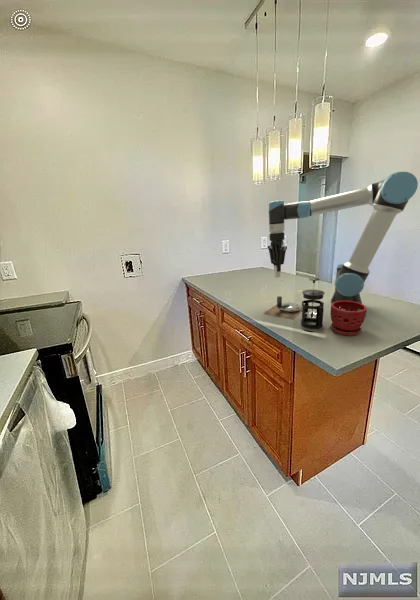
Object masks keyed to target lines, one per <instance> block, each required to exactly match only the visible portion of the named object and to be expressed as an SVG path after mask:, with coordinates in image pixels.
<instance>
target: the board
mask: <svg viewBox="0 0 420 600" xmlns="http://www.w3.org/2000/svg"><path fill="white" fill-rule="evenodd" d="M301 314H302V306H300V310H299V311H298V312H295V313H287V312H283V311H281V310H280V309H278V308H277V303H276V304H275V305H273V306H272V307H270V308H269V309H267V310H266V311H264V312H263V315H267V316H272V317H276V318H280V319H281V318H282V319H288V320H292V321H294V319H295V318H297V317H298V316H299V315H301Z"/></svg>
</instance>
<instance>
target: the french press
mask: <svg viewBox="0 0 420 600" xmlns="http://www.w3.org/2000/svg"><path fill="white" fill-rule="evenodd" d="M320 279H321V278H320ZM320 279H319V278H317V277H311V278H308V280H309V281H312V284H313V286H312V289H305V290H302V292H301V293H302V295H303V299H306V300H301V301H302V302H301V307H302V312H301V320H300V325H301V327H303V328H305V329H303V328H301V329H302V331H304V332H308V333H315V331H314V330H318V329H321V328H323V323H324V321H323V320H324V311H325V310H324V309H325V308H324V305H325V304H324V302H323V301H322V300H323V298H324V295H325V294H326V293H325V292H324V291H323V290H319V289H315V283H316V282H317V281H320ZM310 303H311V305H310ZM314 303H315V304H319V305H315V306H314ZM309 310H311V311H309ZM314 310H316V311H314ZM305 322H314V323H315V324H308V323H305ZM308 329H309V330H308ZM312 330H313V331H312Z"/></svg>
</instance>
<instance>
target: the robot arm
mask: <svg viewBox="0 0 420 600" xmlns="http://www.w3.org/2000/svg"><path fill="white" fill-rule="evenodd" d="M418 184H419V181H418V179H417V177H416V175H414V174H413V173H412V172H410V171H397V172H393V173H391V174H390V175H388V176H387V177H386V178H385V179H383V180H380V181H378V182H374V183H371V184H369V186H367V187H363V188H360V189H354V190H351V191H345V192H342V193H338V194H333V195H329V196H325V197H321V198H317V199H313V200H309V201H308V200H306V201H297V202H291V203H285V201H284V199H280V200H279V199H277V200H272V201H269V203H268V222H269V223H268V225H269V235H268V237H269V241H270V244H269V245H268V246H267V249H268V252H269V259H270V262H271V265H273V270H274V271H273V272H274V278H281V271H282V269H281V268H282V265H284V264H285V259H286V251H287V249H288V246H286V245H285V243H284V240H285V220H296V219H297V220H298V219H305V218H309V217H312V216H317V215H321V214H326V213H331V212H336V211H341V210H345V209H351V208H356V207H357V208H358V207H361V206H365V205H369V206H372V207H373V210H372V212H371V215H370V217H369V219H368V221H367V223H366V225H365V227H364V229H363V231H362V233H361V235H360V237H359V239H358V241H357V244H356V246H355V247H354V249H353V251H352V254H351V256H350V258H349V259H348V261H346V262H344V263H339V264H337V266H336V272H335V273H336V276H335V280H334V292H333V295H332V296H331V299H330V302H329V303H330V304H332V303H333V302H336V301H354V302H358V303H361V304H363V301H362V297H361V295H360V293H361V292H363V290H364V287H365V283H366V280H367V278H368V276H369V275H370V273H371V272H370V270H369V267H370V265H371V263H372V261H373V260H374V257H375V256H376V254H377V251H378V250H379V248H380V246H381V244H382V242H383V241H384V238H385V237H386V235H387V233H388V231H389V229H390V227H391V225H392V223H393V221H394V219H395V218H396V216H397V215H398V214H401V213H403V212H404V210H405V208H406V207H407V204H408V202H409V201H410V200H411V198H412V197H413V196H414V195H415V194H416V192H417V190H418V186H419V185H418ZM339 308H341V306H339ZM347 308H348V309H350V308H351V307H350V306H348V307H347ZM355 309H356V308H355V307H354V310H355ZM343 310H345V309H343ZM358 310H360V309H359V308H358Z"/></svg>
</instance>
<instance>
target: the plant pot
mask: <svg viewBox="0 0 420 600" xmlns="http://www.w3.org/2000/svg"><path fill="white" fill-rule="evenodd" d="M340 306H341V307H340ZM348 306H350V307H351V308H350V309H348V308H347V307H348ZM354 307H355V308H356V309H355V310H354ZM358 308H359V309H358ZM344 309H345V310H344ZM367 309H368V307H367V306H366V305H364V303H362V304H361V303H358V302H354V301H336V302H333V303H330V320H331V323H330V328H331V330H332V331H333V332H335V333H337V334H340V335H343V336H355V335H358V334H360V332H361V330H362V328H361V327H362V325H363V324H364V322H365V319H366V316H367Z"/></svg>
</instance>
